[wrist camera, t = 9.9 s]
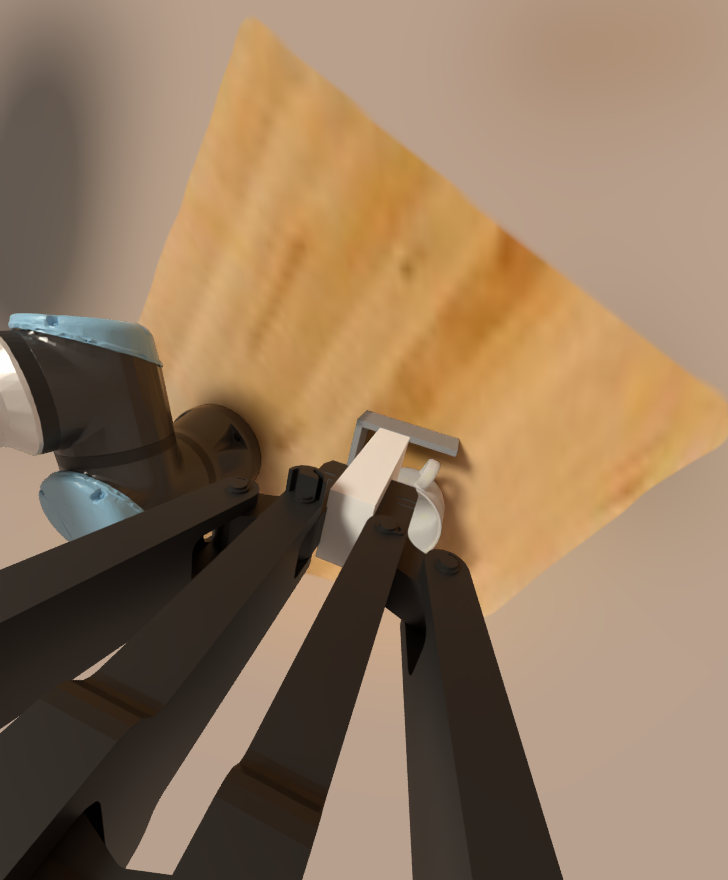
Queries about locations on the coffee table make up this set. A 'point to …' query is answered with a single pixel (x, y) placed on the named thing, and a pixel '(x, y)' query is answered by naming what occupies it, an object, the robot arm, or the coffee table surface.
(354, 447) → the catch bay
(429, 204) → the coffee table surface
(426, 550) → the teacup
